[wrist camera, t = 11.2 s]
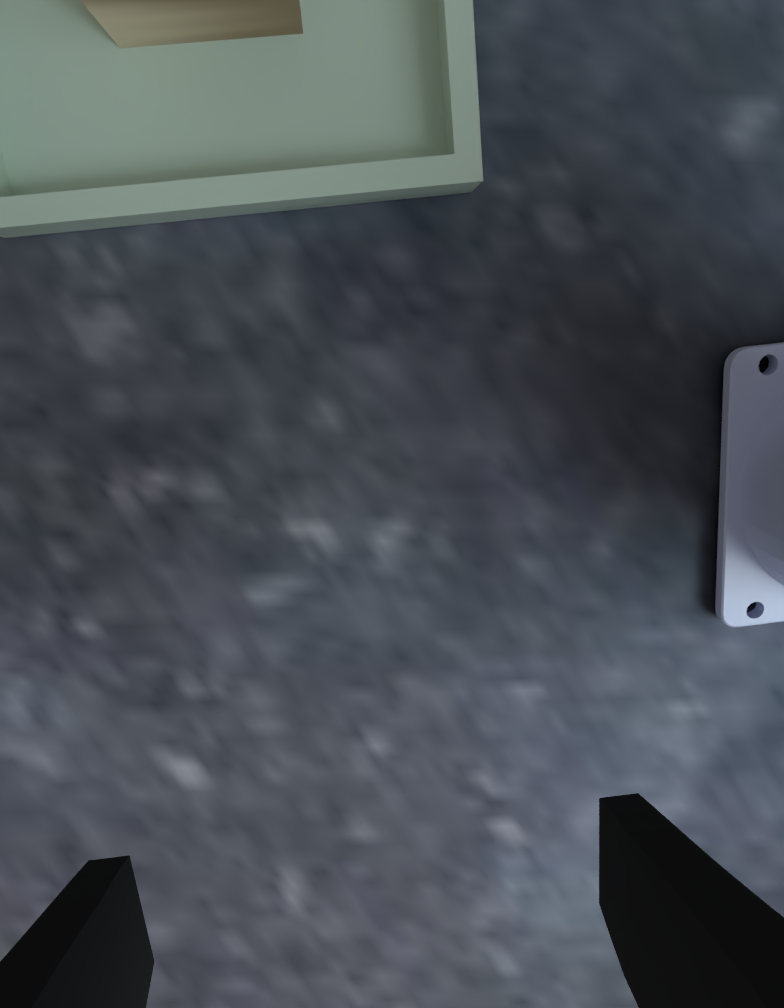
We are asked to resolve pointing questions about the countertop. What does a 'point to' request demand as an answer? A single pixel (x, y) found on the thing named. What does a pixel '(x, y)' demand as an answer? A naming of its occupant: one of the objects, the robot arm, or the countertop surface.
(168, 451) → the countertop surface
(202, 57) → the tray
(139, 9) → the beech block
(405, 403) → the countertop surface
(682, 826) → the countertop surface
